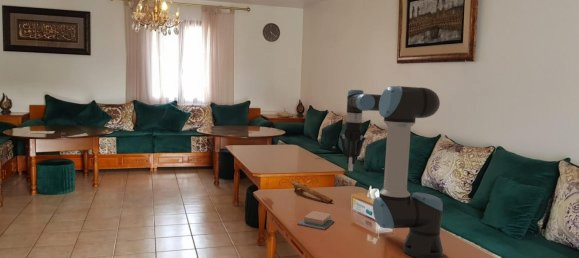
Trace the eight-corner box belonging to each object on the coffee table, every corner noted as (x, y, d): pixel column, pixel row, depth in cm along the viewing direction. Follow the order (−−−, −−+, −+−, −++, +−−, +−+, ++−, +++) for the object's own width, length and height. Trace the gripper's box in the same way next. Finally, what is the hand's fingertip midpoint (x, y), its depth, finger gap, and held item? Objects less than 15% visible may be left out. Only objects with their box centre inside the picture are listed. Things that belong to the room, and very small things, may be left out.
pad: (334, 221, 217) (334, 220, 217) (324, 229, 206) (324, 228, 206) (308, 216, 223) (308, 215, 223) (297, 224, 211) (297, 223, 211)
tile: (331, 214, 219) (322, 220, 209) (330, 219, 219) (322, 225, 209) (313, 210, 222) (304, 216, 212) (312, 215, 223) (303, 222, 213)
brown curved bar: (335, 203, 250) (329, 188, 246) (323, 212, 247) (316, 196, 243) (304, 186, 278) (298, 172, 275) (293, 193, 276) (287, 179, 272)
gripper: (369, 122, 226) (365, 171, 228) (343, 120, 231) (340, 168, 233) (364, 123, 219) (361, 173, 221) (338, 121, 225) (335, 170, 226)
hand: (350, 170), depth 227 cm, fingers closed
